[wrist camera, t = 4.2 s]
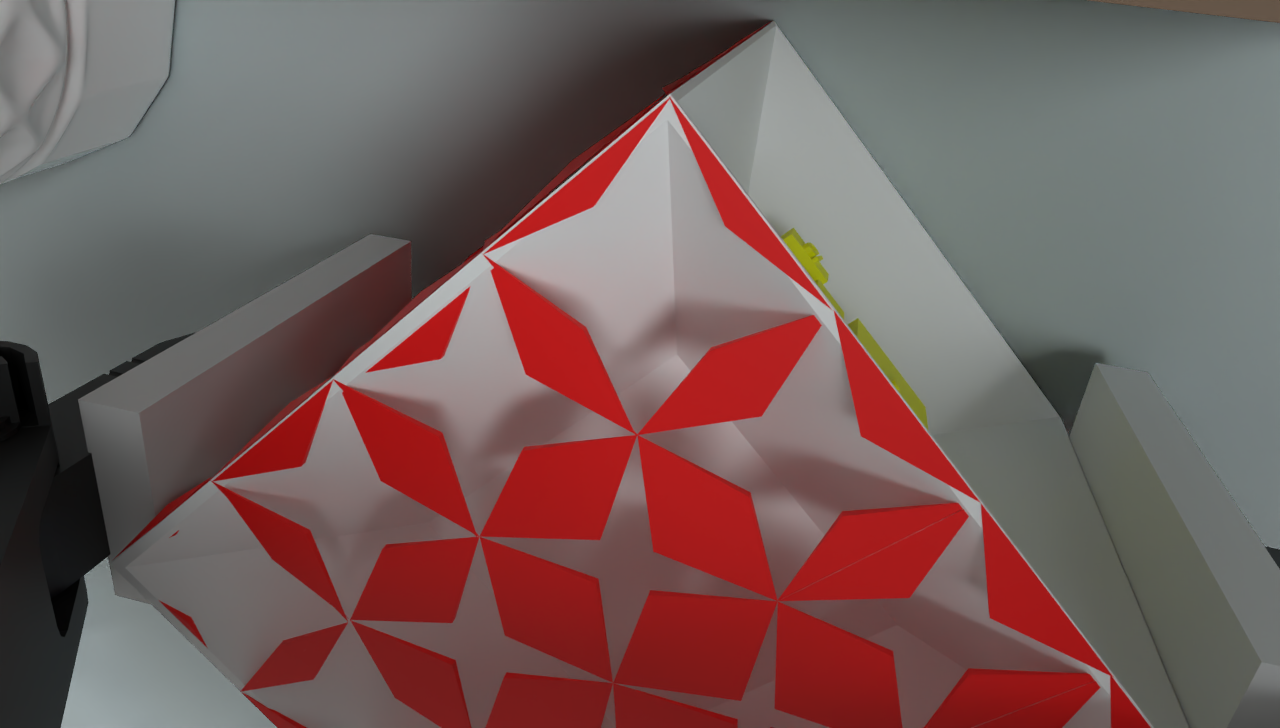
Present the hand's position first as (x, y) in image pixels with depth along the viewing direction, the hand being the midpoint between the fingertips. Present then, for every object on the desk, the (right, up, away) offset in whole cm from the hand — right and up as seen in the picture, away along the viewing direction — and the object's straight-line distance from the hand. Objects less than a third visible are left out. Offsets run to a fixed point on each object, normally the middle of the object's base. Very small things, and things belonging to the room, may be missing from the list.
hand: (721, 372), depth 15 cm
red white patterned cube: (0, 0, +1) cm, 1 cm away
